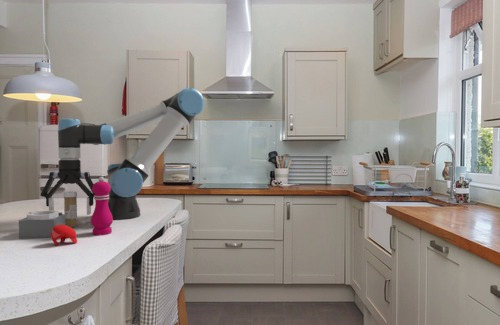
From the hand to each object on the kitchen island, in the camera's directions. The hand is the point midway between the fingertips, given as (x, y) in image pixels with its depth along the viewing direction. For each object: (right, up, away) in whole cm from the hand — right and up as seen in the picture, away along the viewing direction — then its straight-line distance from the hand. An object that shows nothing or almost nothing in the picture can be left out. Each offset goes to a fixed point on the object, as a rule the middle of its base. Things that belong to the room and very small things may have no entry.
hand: (70, 214), depth 138 cm
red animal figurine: (+10, -6, -25) cm, 27 cm away
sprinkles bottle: (0, -5, 0) cm, 5 cm away
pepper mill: (+17, -5, -11) cm, 20 cm away
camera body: (-3, -5, -12) cm, 14 cm away
